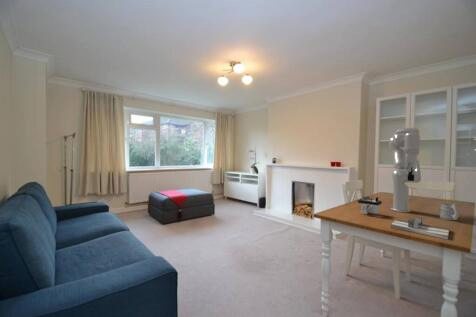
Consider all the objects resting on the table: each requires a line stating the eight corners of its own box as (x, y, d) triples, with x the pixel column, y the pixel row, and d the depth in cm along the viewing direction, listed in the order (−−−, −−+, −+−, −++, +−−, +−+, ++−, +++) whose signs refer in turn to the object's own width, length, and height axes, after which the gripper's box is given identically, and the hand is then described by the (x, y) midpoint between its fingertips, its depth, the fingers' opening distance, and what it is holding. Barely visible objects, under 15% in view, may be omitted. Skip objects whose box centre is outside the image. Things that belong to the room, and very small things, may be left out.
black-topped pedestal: (342, 213, 167) (342, 195, 166) (356, 207, 184) (356, 191, 184) (386, 222, 146) (386, 202, 145) (397, 215, 163) (397, 196, 163)
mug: (448, 217, 157) (448, 200, 156) (463, 222, 145) (464, 204, 144) (436, 217, 157) (437, 200, 157) (451, 222, 145) (451, 204, 145)
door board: (397, 221, 148) (397, 212, 148) (449, 230, 130) (449, 220, 130) (390, 227, 135) (391, 217, 135) (447, 239, 117) (447, 228, 117)
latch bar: (417, 222, 137) (417, 217, 137) (422, 223, 136) (422, 217, 135) (412, 227, 129) (413, 221, 129) (418, 228, 127) (418, 222, 127)
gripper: (406, 152, 153) (405, 179, 153) (402, 152, 142) (401, 181, 143) (420, 152, 147) (419, 180, 148) (417, 152, 137) (416, 182, 137)
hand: (410, 180), depth 145 cm, fingers closed
